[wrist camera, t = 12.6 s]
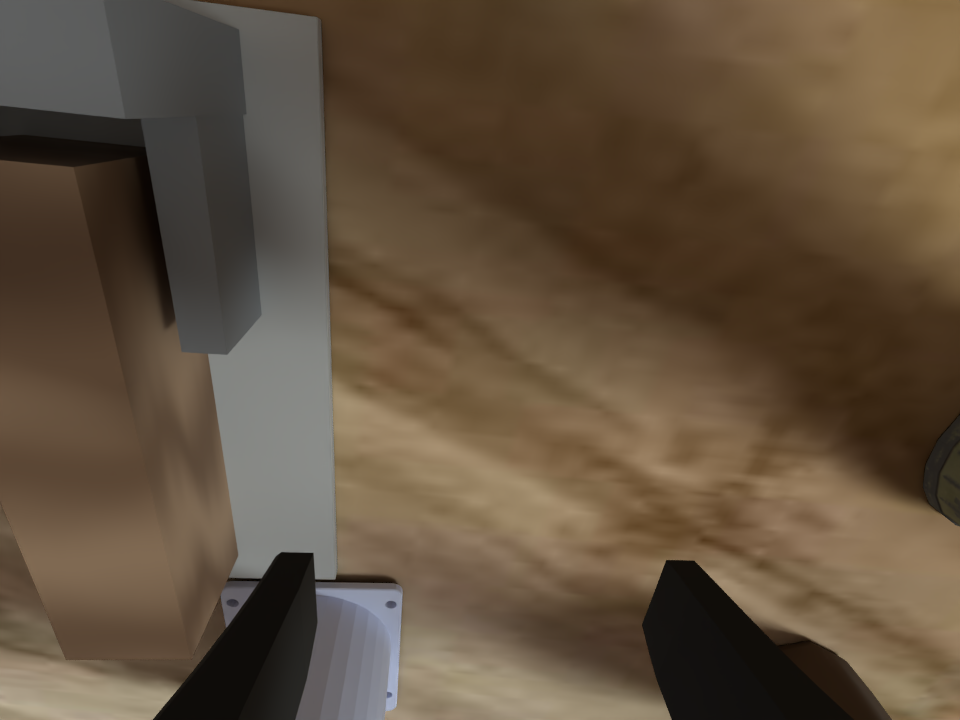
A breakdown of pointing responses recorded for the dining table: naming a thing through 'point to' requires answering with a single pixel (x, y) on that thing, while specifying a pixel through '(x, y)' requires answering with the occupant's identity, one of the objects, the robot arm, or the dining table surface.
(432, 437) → the dining table surface
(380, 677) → the robot arm
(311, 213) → the post bracket
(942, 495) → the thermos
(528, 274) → the dining table surface
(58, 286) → the rail
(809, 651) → the beer bottle
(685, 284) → the dining table surface
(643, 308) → the dining table surface
